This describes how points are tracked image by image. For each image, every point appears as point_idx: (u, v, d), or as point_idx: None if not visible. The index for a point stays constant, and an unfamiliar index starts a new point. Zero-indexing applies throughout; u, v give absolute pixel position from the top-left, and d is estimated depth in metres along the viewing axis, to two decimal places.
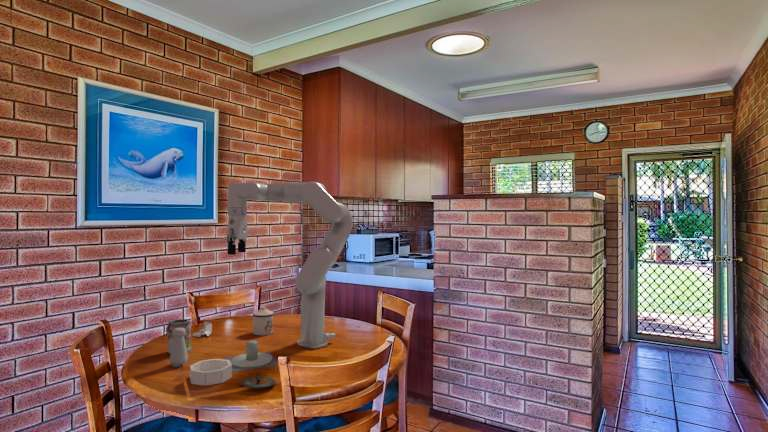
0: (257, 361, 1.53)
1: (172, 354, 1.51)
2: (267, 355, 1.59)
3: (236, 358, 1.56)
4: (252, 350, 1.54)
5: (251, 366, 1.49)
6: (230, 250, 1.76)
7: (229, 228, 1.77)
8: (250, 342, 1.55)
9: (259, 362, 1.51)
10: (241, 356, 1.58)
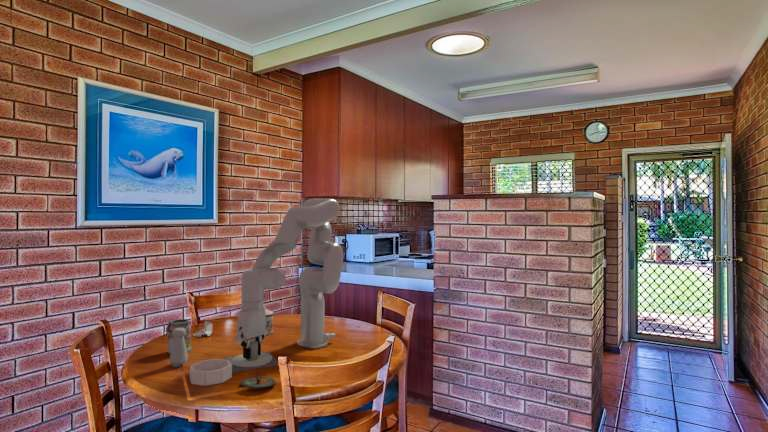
0: (257, 361, 1.53)
1: (172, 354, 1.51)
2: (267, 355, 1.59)
3: (236, 358, 1.56)
4: (252, 350, 1.54)
5: (251, 366, 1.49)
6: None
7: None
8: (250, 342, 1.55)
9: (259, 362, 1.51)
10: (241, 356, 1.58)
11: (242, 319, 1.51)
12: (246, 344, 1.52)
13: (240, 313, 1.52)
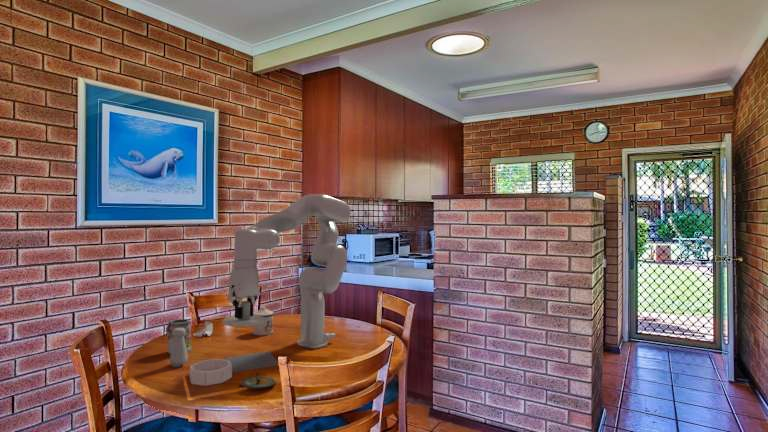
0: (249, 321, 1.49)
1: (172, 354, 1.51)
2: (260, 317, 1.56)
3: (228, 318, 1.52)
4: (244, 310, 1.50)
5: (243, 325, 1.45)
6: None
7: None
8: (242, 302, 1.52)
9: (251, 322, 1.48)
10: (233, 317, 1.54)
11: (234, 277, 1.48)
12: (238, 303, 1.48)
13: (232, 271, 1.49)
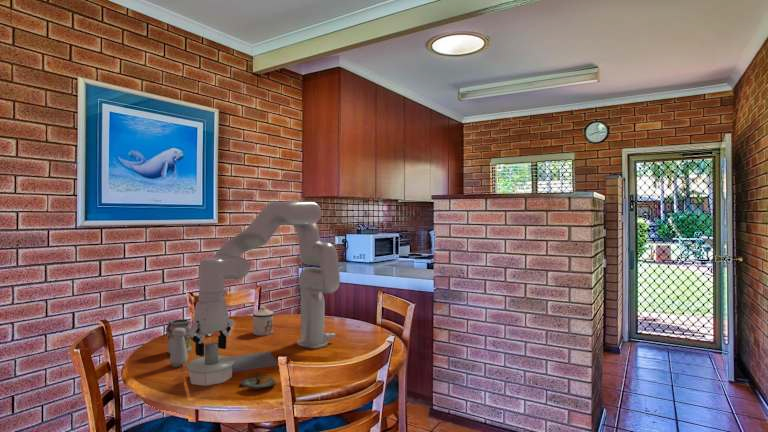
0: (216, 365, 1.37)
1: (172, 354, 1.51)
2: (229, 358, 1.43)
3: (194, 362, 1.40)
4: (211, 354, 1.38)
5: (209, 371, 1.33)
6: None
7: None
8: (209, 344, 1.39)
9: (218, 367, 1.35)
10: (200, 360, 1.42)
11: (199, 312, 1.35)
12: (199, 339, 1.35)
13: (197, 305, 1.36)
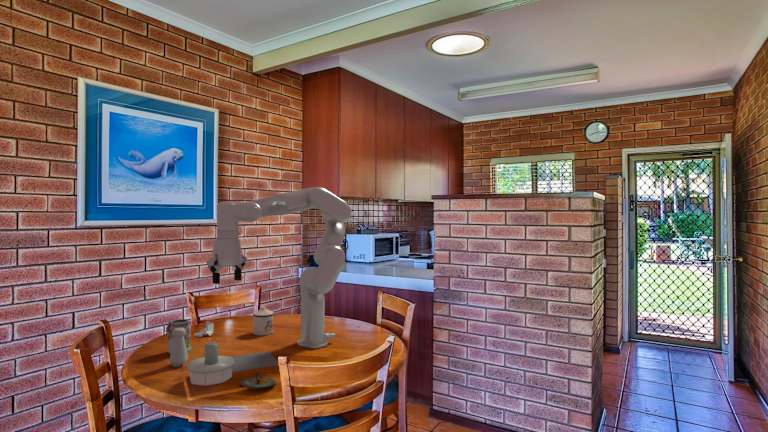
0: (216, 365, 1.37)
1: (172, 354, 1.51)
2: (229, 358, 1.43)
3: (194, 362, 1.40)
4: (211, 354, 1.38)
5: (209, 371, 1.33)
6: None
7: None
8: (209, 344, 1.39)
9: (218, 367, 1.35)
10: (200, 360, 1.42)
11: (217, 247, 1.56)
12: (216, 268, 1.55)
13: (215, 241, 1.57)
